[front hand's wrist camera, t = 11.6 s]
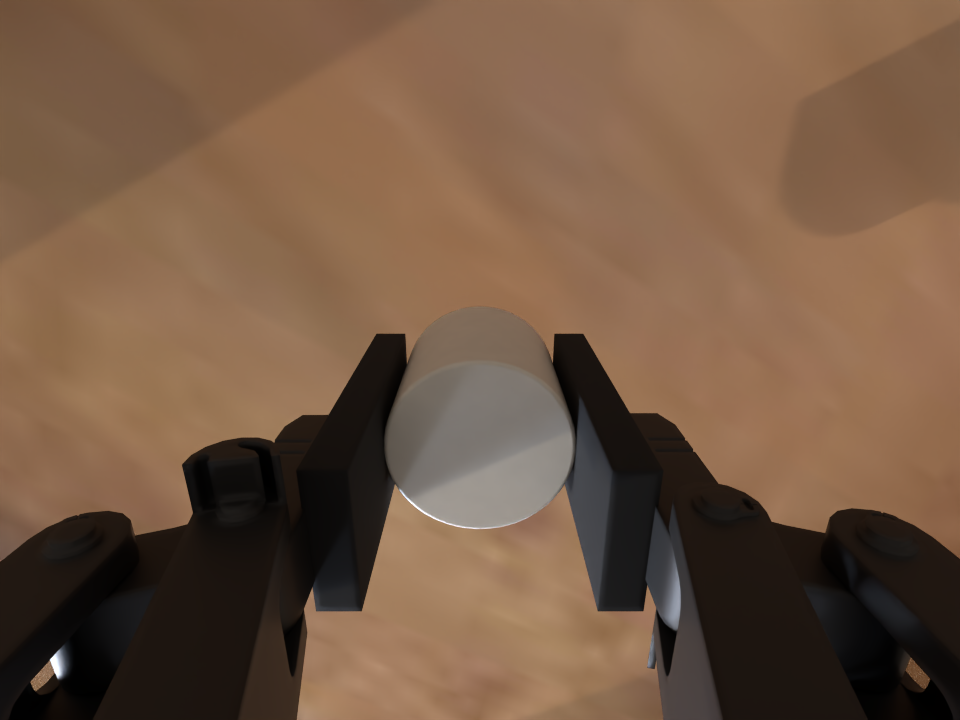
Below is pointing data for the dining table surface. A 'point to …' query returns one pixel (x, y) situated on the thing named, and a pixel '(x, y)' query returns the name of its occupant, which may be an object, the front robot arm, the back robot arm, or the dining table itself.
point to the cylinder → (479, 422)
